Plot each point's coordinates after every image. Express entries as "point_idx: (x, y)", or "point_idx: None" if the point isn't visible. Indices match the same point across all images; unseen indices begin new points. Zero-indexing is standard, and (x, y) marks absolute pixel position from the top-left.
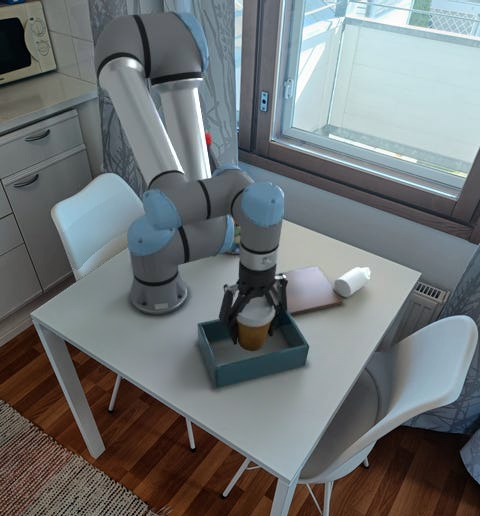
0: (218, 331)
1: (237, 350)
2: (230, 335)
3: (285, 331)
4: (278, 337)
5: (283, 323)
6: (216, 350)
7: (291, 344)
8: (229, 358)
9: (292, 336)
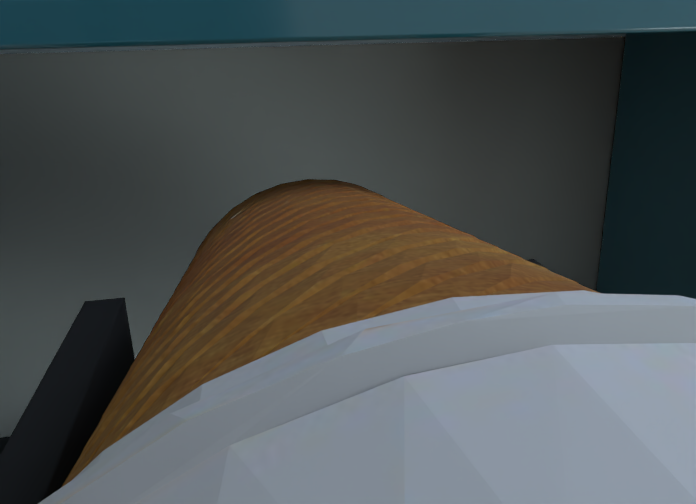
0: (2, 52)
1: (203, 205)
2: (79, 319)
3: (637, 143)
4: (557, 150)
5: (675, 92)
6: (15, 163)
7: (610, 260)
8: (119, 270)
9: (666, 283)
